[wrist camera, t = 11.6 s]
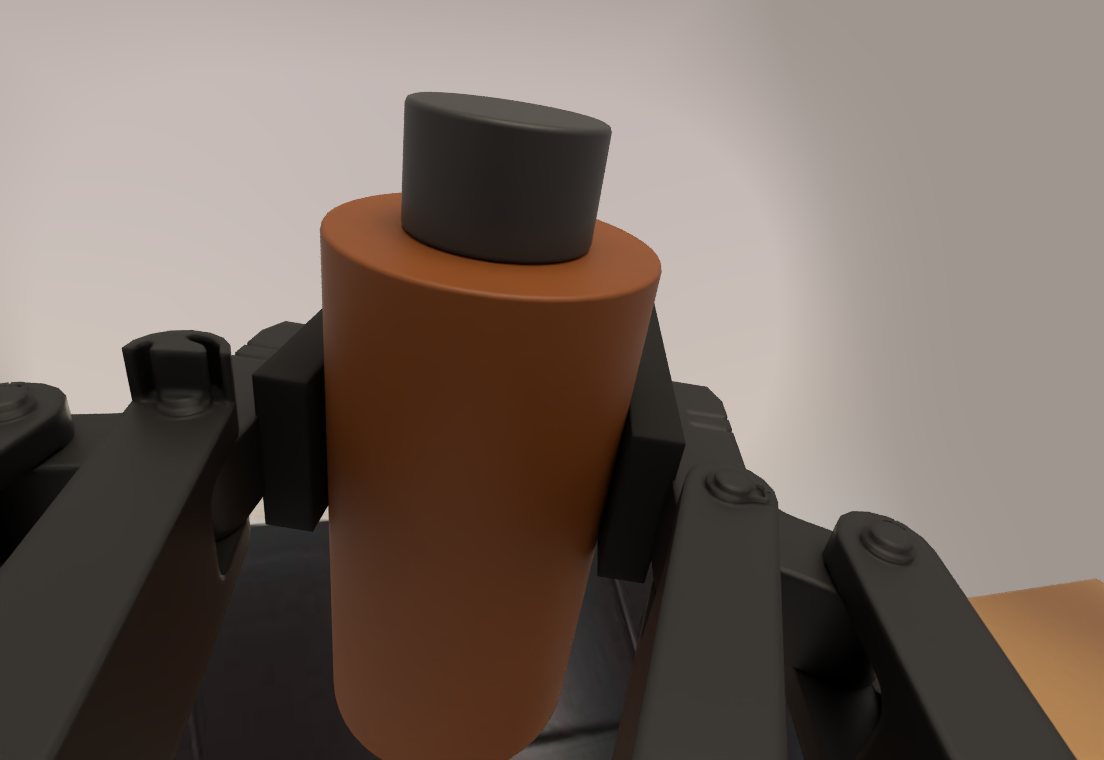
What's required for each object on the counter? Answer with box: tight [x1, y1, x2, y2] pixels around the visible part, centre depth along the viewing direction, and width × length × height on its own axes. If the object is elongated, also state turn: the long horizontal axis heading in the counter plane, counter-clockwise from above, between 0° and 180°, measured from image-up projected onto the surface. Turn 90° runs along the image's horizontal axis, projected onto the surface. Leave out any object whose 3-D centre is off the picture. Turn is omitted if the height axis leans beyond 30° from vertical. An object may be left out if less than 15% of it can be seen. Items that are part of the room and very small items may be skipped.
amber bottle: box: [320, 92, 661, 760], centre depth 10 cm, size 5×5×11 cm
